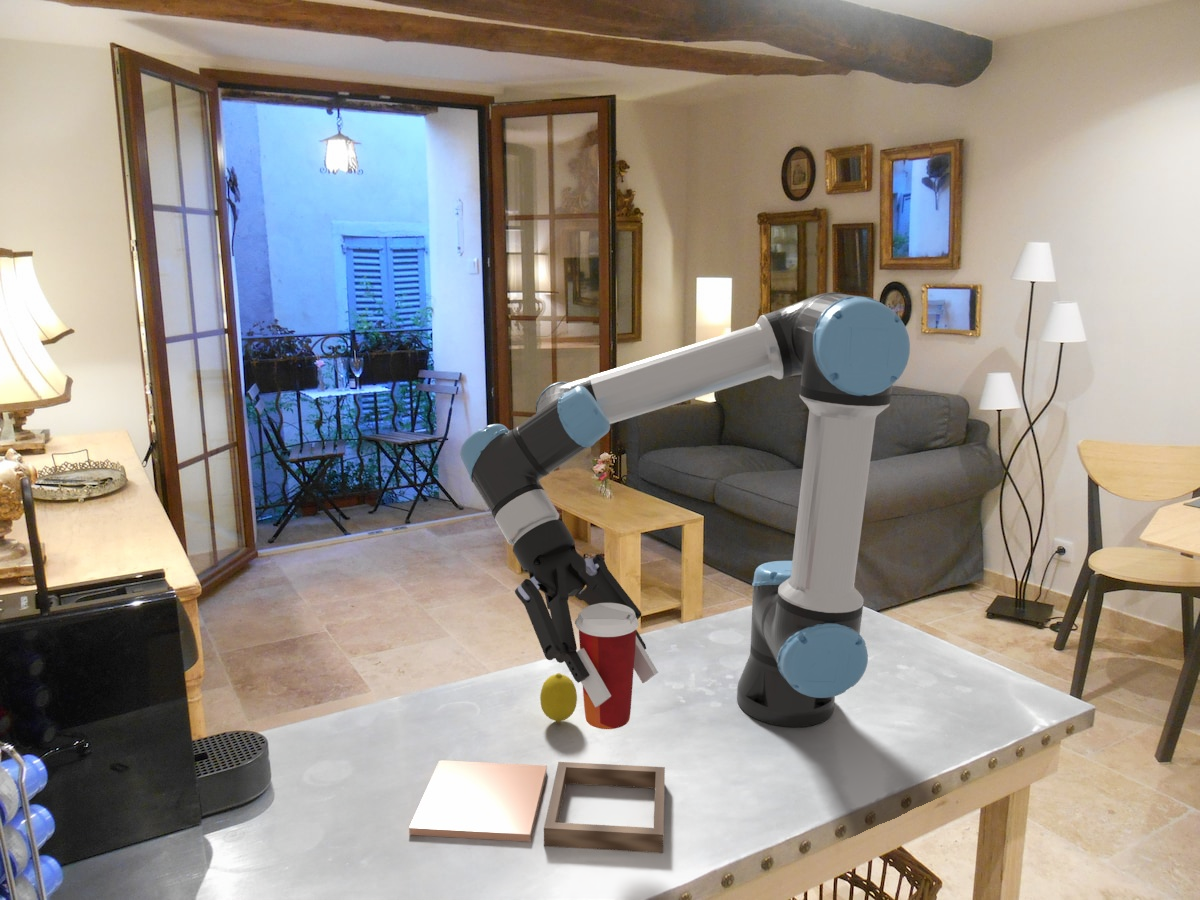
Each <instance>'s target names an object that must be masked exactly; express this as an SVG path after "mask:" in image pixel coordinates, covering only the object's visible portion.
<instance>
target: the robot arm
mask: <svg viewBox="0 0 1200 900" xmlns="http://www.w3.org/2000/svg"><path fill="white" fill-rule="evenodd" d="M910 343H911V342H910V337H909V333H908V329H907V327H906V325H905V324H904V322H903V320H902V319H901V318H900V316H899V315H898V314H897V312H895V311H894V310H893V309H891V308H890V307H889V306H887V305H885V304H883V302H880V301H879V300H876V299H874V298H872V297H868V296H862V295H852V294H848V293H844V292H834V291H831V292H826V293H819V294H817V295H814V296H811V297H808V298H806V299H803V300H801V301H798V302H796V303H793V304H790V305H787V306H785V307H781V308H780V309H777V310H774V311H771V312H768V313H765V314H762V315H759V317H758V319H757V320H756V322H755V324H754V325H751V326H747V327H743V328H739V329H737V330H734V331H731V332H727V333H724V334H721V335H718V336H715V337H711V338H708V339H705V340H702V341H699V342H695V343H693V344H689V345H686V346H683V347H680V348H677V349H673V350H670V351H666V352H664V353H661V354H657V355H654V356H651V357H647V358H643V359H641V360H637V361H634V362H630V363H628V364H625V365H622V366H618V367H615V368H612V369H609V370H606V371H602V372H599V373H596V374H592V375H589V376H587V377H584V378H581V379H580V378H579V379H577V380H574V381H557V382H554V383H552V384H550V385H549V386H548V387H546V388H545V389H544V390H543V391H541V393H540V396H539V397H538V399H537V401H536V406H535V414H533V415H532V416H531V417H529V418H528V419H527V420H525V421H524V422H522V423H521V424H519V425H518V426H516V427H515V428H513V429H511V430H510V429H508V428H507V426H505V425H504V424H501V423H493V424H489V425H487V426H485V427H484V428H482V429H481V428H480V429H478V430H477V429H476V431H475V432H473V433H471V434H470V435H469V436H468V437H467V438H466V439H465V440H464V442H463V444H462V445H461V448H460V450H459V451H460V459H461V460H462V462H463V465H464V467H465V469H466V470H467V473H468V475H469V478H470V481H471V483H473V485H474V487H475V488H476V490H477V492H478V493H479V494H480V496H481V498H482V499H483V501H484V503H485V505H486V506H487V508H488V509H489V511H490V512H491V515H492V517H493V519H494V521H495V523H496V525H497V526H498V528H499V529H500V531H501V533H502V535H503V536H504V538H505V540H506V542H507V543H508V544H509V545H511V546H513V547H512V552H513V554H514V555H515V558H516V560H517V561H518V563H519V565H520V566H521V568H522V570H523V571H524V573H528V576H529V578H525V579H524V580H523V581H522V582H521V583H520V584H519V586H517V588H515V589H514V594H515V595H516V596H517V598H518V599H519V600H520V602H521V603H522V604H523V605H524V608H525V610H526V612H527V615H528V618H529V620H530V622H531V625H532V627H533V630H534V633H535V636H536V637H537V640H538V643H539V645H540V647H541V649H542V652H543V655H544V657H545V659H546V660H548V661H552V660H554V659H555V660H556V662H557V663H559V664H563V663H564V664H565V665H566V666H567V668H568V670H569V672H570V674H571V675H572V677H573V679H574V680H575V681H576V683H581V684H582V687H583V686H584V688H585V690H586V692H587V694H588V695H589V697H590V699H591V701H592V702H593V704H594V706H595V707H597V706H599V705H601V704H602V703H603V702H605V701H606V700H607V699H608V698H610V697H611V694H610V693H609V691H608V689H607V688H606V686H605V684H604V682H603V681H602V679H601V677H600V675H599V674H598V672H597V670H596V668H595V667H594V665H593V663H592V661H591V660H590V658H589V656H588V655H587V653H586V651H585V649H584V648H582V649H580V648H579V649H578V648H577V642H576V637H575V632H574V627H573V626H574V625H573V622H572V616H571V613H570V612H571V611H570V606H569V603H568V602H569V598H570V597H571V598H572V597H574V596H575V598H576V599H578V600H579V601H583V602H585V603H586V604H587V605H588V606H590V605H594V604H598V603H617V604H622V605H625V606H628V607H630V608H631V609H633V611H634V612H635V615H636V618H637V619H638V620H639V619H640V618H641V617H642V612H641V610H640V609H639V608H638V607H637V605H636V604H635V603H634V601H633V600H632V598H631V597H630V595H628V594H627V592H626V590H624V588H623V587H622V586H621V585H620V583H619V582H618V581H617V579H616V578H615V577H614V576H613V574H612V572H611V571H610V570H609V568H608V567H607V564H606V562H605V560H604V557H603V556H602V555H601V554H599V553H598V554H596V555H594V557H593V558H584V557H583V556H582V555H581V554H579V552H578V551H577V549H576V544H575V539H574V537H573V536H572V534H571V532H570V530H569V528H568V527H567V525H566V524H565V521H564V520H560V519H559V518H560V513H559V512H558V511H557V508H556V507H555V506H554V505H555V504H554V503H553V502H552V501H551V498H550V497H549V495H548V494H547V492H546V490H545V489H544V487H543V486H542V484H541V482H540V480H541V479H543V478H544V477H546V476H548V475H549V474H551V473H552V472H553V471H555V470H556V469H557V468H559V467H561V466H562V465H564V464H565V463H566V462H569V461H570V460H571V459H572V458H575V457H576V456H577V455H580V454H581V453H582V452H583V451H585V450H586V449H588V448H591V447H593V446H594V445H596V442H598V441H599V440H600V439H601V438H603V437H605V436H606V435H607V434H608V433H609V431H610V429H611V425H613V424H615V423H617V422H621V421H625V420H627V419H631V418H635V417H637V416H641V415H644V414H647V413H651V412H654V411H657V410H661V409H663V408H667V407H670V406H673V405H677V404H679V403H682V402H686V401H690V400H692V399H693V400H694V399H696V398H700V397H703V396H706V395H710V394H713V393H716V392H720V391H722V390H726V389H730V388H732V387H736V386H738V385H742V384H745V383H749V382H752V381H755V380H758V379H761V378H765V377H769V376H770V377H771V376H772V377H774V378H775V379H777V380H782V379H786V378H788V377H794V376H799V375H801V376H800V377H801V378H800V386H799V398H800V399H801V400H802V401H803V403H804V404H805V405H806V407H807V408H808V410H809V411H808V418H807V419H808V420H807V427H806V429H807V430H806V436H805V437H806V438H805V445H804V455H803V463H802V473H801V483H800V488H799V489H800V491H799V499H798V509H797V518H796V526H795V535H794V537H795V538H794V542H793V543H794V545H793V553H792V560H775V561H768V562H764V563H762V564H760V565H758V566H757V567H756V568H755V571H754V574H753V580H752V583H751V586H752V601H751V602H752V606H751V625H750V626H751V628H750V630H751V631H750V649H749V651H750V652H749V656H748V659H747V660H746V663H745V665H744V669H743V671H742V673H741V675H740V678H739V681H738V682H737V689H736V691H737V692H736V702H737V705H738V707H739V708H740V709H741V710H742V711H743V712H744V713H746V714H747V715H748V716H750V717H752V718H754V719H755V720H757V721H761V722H762V723H763V722H764V723H766V724H770V725H775V726H781V727H791V728H797V727H798V728H800V727H801V728H803V727H809V726H815V725H818V724H821V723H823V722H825V721H827V720H828V719H830V718H831V716H832V715H833V713H834V710H835V700H836V698H835V697H836V696H839V695H842V694H844V693H846V692H847V690H849V689H850V688H853V687H854V686H856V685H857V684H858V683H859V682H860V680H861V679H862V677H863V676H864V674H865V672H866V669H867V666H868V664H869V663H868V661H869V654H868V648H867V646H866V641H865V639H864V638H863V636H862V635H861V627H862V626H861V625H862V620H863V619H862V618H863V611H864V610H863V608H864V601H865V600H864V597H863V596H862V594H861V593H860V592H859V590H857V589H856V587H855V582H856V573H857V566H858V565H857V564H858V560H859V559H858V558H859V550H860V543H861V535H862V527H863V520H864V512H865V505H866V504H865V503H866V496H867V488H868V481H869V472H870V466H871V457H872V450H873V443H874V442H873V441H874V436H875V427H876V419H877V416H878V415H879V414H881V413H882V412H883V411H885V410H886V409H887V408H889V407H890V405H891V400H892V391H893V384H895V382H896V381H897V380H900V377H902V375H903V373H904V372H905V369H906V368H907V366H908V362H909V358H910V353H911V352H910V351H911V344H910ZM585 586H586V587H585ZM540 591H541V592H542V593H544V596H545V599H544V596H543V595H542V594H541V592H540ZM577 649H578V650H577ZM646 650H647V645H646V643H645V641H644V640H643V638H642V637H641V635H640V634H639V632H638V630H637V629H636V645H635V658H634V670H633V671H635V673H636V674H637V677H638V678H639V680H640V681H641V683H642V684H644V683H646V682H648V681H649V680H650V679H651V678H653V677H654V676H656V675H657V674H659V671H658V669H657V668H656V666H655V665H654V663H653V661H652V660H651V657H650V656H649V654H648V653H647V651H646Z"/></svg>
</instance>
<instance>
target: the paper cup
mask: <svg viewBox="0 0 1200 900" xmlns="http://www.w3.org/2000/svg"><path fill="white" fill-rule="evenodd" d="M574 624H575V626H576V628H577V630H578V641H579V650H580V649H582V648H584V649H585V651H586V653H587V655H588V656H589V658H590V660H591V661H592V663H593V665H594V667H595V668H596V670H597V672H598V674H599V675H600V677H601V679H602V681H603V682H604V684H605V686H606V688H607V689H608V691H609V693H610V694H611V697H610V698H608V699H607V700H606V701H605V702H603V703H602V704H601V705H599V706H597V707H595V706H594V704H593V702H592V701H591V699H590V697H589V695H588V694H587V692H586V690H585V688H584V686H583V685H582V693H583V694H582V695H583V704H584V705H583V708H584V715H585V721H586V723H588V724H589V725H590V727H591V726H592V727H593V728H596V729H600V730H615V729H619V728H622V727H624V726H625V725H627V724H628V723H629V722H630V718H631V710H632V709H631V708H632V697H633V696H632V695H633V684H634V683H633V682H634V671H635V670H634V658H635V645H636V630H637V629H638V627H640V626H639V625H640V622H639V619H637V618H636V615H635V612H634V611H633V609H631V608H630V607H628V606H625V605H622V604H617V603H598V604H594V605H590V606H589V605H588V606H585V607H584V608H583V609H582V610H581V611H580V612H579V613H578V614H577V618H576V619H575V621H574Z"/></svg>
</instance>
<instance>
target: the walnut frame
mask: <svg viewBox="0 0 1200 900" xmlns="http://www.w3.org/2000/svg"><path fill="white" fill-rule="evenodd" d="M556 767H557V768H556V771H555V776H554V780H553V781H554V782H553V784H552V790H551V794H550V799H549V803H548V808H547V812H546V817H545V821H544V825H543V846H544V847H553V848H567V849H568V848H570V849H589V850H600V851H601V850H605V851H621V852H625V851H626V852H638V853H654V854H655V853H656V854H663V853H664V835H665V834H664V831H665V830H664V825H665V823H664V822H665V819H664V818H665V785H666V784H665V779H666V778H665V775H666V774H665V773H666V772H665V771H666V766H648V765H629V764H612V763H611V764H608V763H607V764H606V763H588V762H587V763H586V762H573V761H572V762H570V761H558V763H557V766H556ZM567 785H581V786H582V785H583V786H601V787H602V786H604V787H619V788H620V787H621V788H623V787H624V788H640V789H641V788H642V789H643V788H644V789H654V809H653V810H654V811H653V827H645V826H644V827H642V826H629V825H627V826H626V825H625V826H624V825H609V824H608V825H607V824H589V823H588V824H587V823H571V822H570V823H569V822H560V817H561V812H562V806H563V801H564V797H565V792H566V787H567Z"/></svg>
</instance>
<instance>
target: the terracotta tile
mask: <svg viewBox="0 0 1200 900" xmlns="http://www.w3.org/2000/svg"><path fill="white" fill-rule="evenodd" d="M547 769H548V767H547V765H542V764H541V765H540V764H523V763H522V764H521V763H520V764H518V763H499V762H482V761H481V762H480V761H464V760H463V761H461V760H459V761H458V760H441V759H439V761H438V763H437V765H436V767H435V769H434V771H433V774H432V775H431V778H430V780H429V782H428V784H427V787H426V789H425V791H424V794H423V796H422V798H421V800H420V803H419V805H418V807H417V809H416V811H415V814H414V816H413V819H412V820H411V823H410V825H409V827H408V830H409V833H408V835H409V836H426V837H442V838H458V839H459V838H461V839H475V840H478V839H479V840H496V841H509V842H510V841H511V842H513V841H514V842H531V839H532V836H533V831H534V827H535V823H536V819H537V814H538V811H539V805H540V802H541V798H542V793H543V790H544V785H545V781H546V776H547V772H548V771H547Z"/></svg>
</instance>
